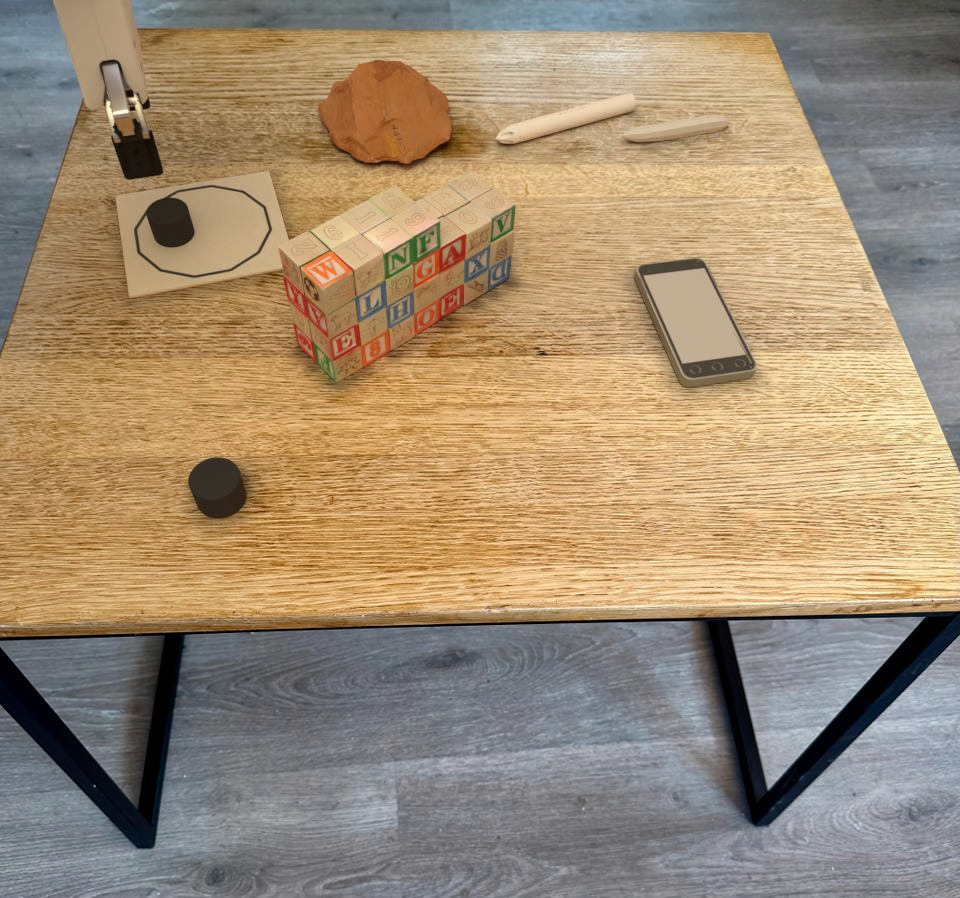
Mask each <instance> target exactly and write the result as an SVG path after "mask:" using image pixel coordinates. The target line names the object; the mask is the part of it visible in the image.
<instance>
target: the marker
mask: <svg viewBox="0 0 960 898" xmlns="http://www.w3.org/2000/svg"><path fill="white" fill-rule="evenodd" d="M636 105H637V99H636V97H635V94H633V93H632V92H628V93H623V94H619V95H616V96H612V97H607V98H604V99H600V100H597V101H592V102H590V103H586V104H581V105H578V106H575V107H571V108H567V109H563V110H559V111H556V112H551V113H547V114H544V115H540V116H537V117H533V118H530V119H526V120H523V121H519V122H515V123H511V124H509V125H507V126H505V127H504V128H503V129H502V130H501V131H499V132H498V134H497V135H496V136H495V141H497V142H499V143H501V144H508V145H511V144H518V143H522V142H525V141H529V140H533V139H536V138H540V137H545V136H547V135H551V134H555V133H558V132H563V131H565V130H568V129H569V130H570V129H573V128H576V127H580V126H584V125H587V124H592V123H595V122H598V121H602V120H605V119H610V118H612V117H616V116H621V115H623V114H628V113H631V112H633V111H634V110H635V109H636V108H637V106H636Z"/></svg>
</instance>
